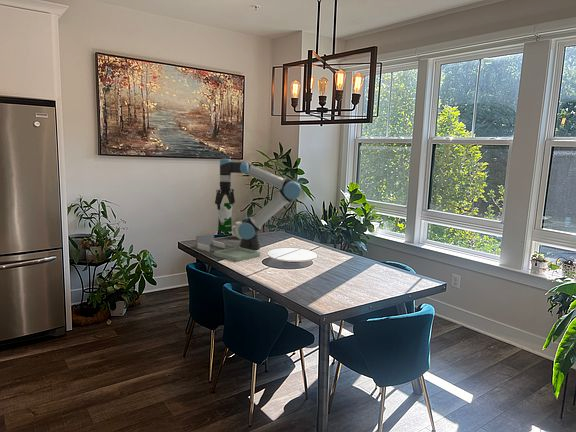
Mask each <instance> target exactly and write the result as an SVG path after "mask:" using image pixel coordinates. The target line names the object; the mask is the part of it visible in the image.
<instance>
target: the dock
mask: <svg viewBox="0 0 576 432" xmlns="http://www.w3.org/2000/svg"><path fill="white" fill-rule="evenodd" d="M195 237H196V239H195V240H196V242H195V243H196V244H195V245H196V246H195V247H196V248H195V249H199V250H201V251H202V250H203V251H206V252H210V251H211V246H214V247H218V248H222V249H226V243H225V242H220V241H218V240H215V233H206V234H205V233H204V234H200V235H199V234H198V235H196V236H195Z"/></svg>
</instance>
